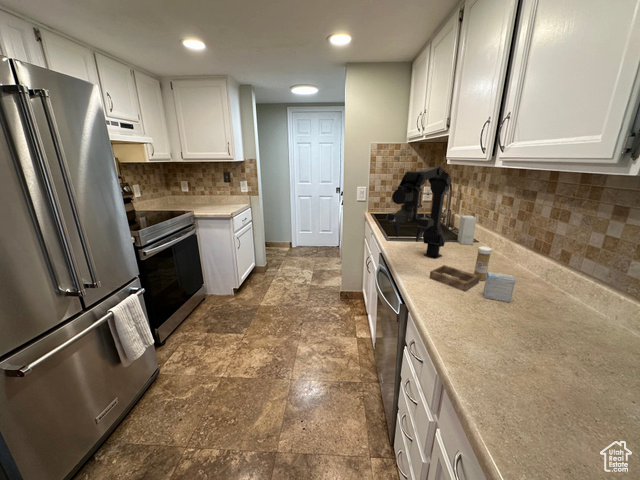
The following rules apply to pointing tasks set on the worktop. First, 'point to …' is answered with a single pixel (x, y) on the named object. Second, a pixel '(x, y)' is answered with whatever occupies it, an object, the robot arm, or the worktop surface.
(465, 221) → the skincare box
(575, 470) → the worktop surface
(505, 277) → the medicine box
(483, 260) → the sprinkles bottle
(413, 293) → the worktop surface
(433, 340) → the worktop surface
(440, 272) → the frame
